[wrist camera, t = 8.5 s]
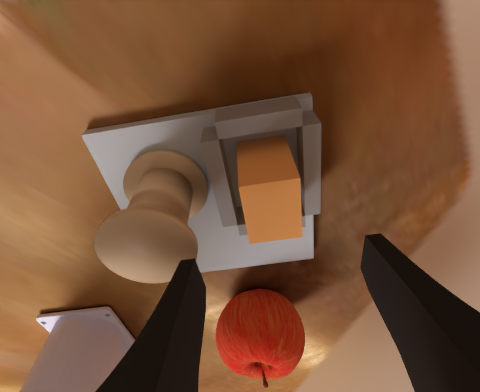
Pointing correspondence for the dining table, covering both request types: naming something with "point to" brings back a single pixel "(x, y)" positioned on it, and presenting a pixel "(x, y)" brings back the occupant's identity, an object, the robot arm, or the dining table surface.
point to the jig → (223, 171)
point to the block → (269, 189)
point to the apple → (260, 335)
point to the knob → (154, 218)
